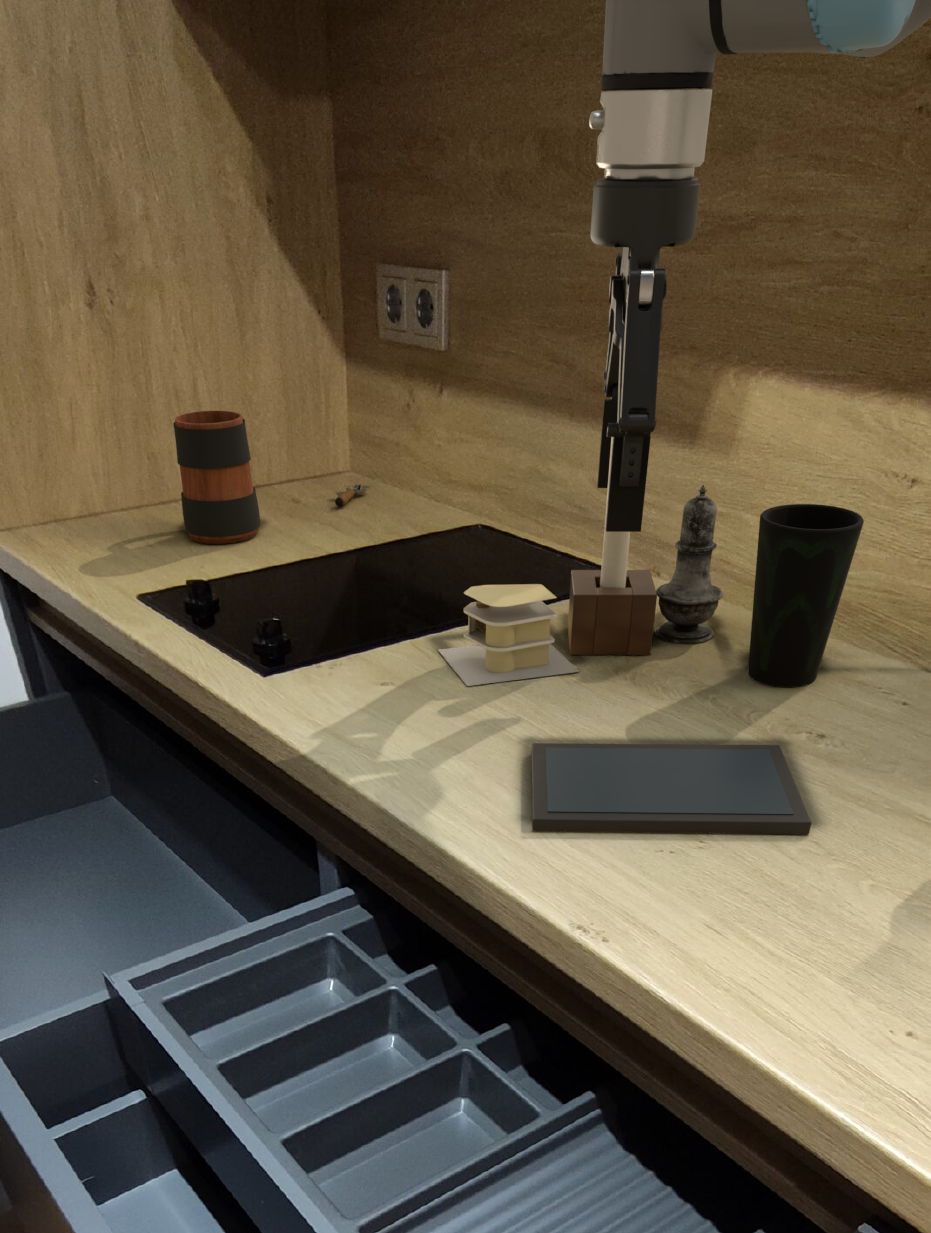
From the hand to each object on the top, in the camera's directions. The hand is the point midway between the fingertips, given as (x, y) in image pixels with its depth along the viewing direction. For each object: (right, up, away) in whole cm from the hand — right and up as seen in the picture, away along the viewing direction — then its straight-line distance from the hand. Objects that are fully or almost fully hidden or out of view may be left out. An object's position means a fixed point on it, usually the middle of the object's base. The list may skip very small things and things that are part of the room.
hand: (617, 508), depth 92 cm
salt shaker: (+7, -7, +8) cm, 13 cm away
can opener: (-26, +26, +46) cm, 59 cm away
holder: (0, -8, +7) cm, 11 cm away
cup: (+14, -14, 0) cm, 20 cm away
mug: (-40, +17, +36) cm, 57 cm away
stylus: (0, -8, +7) cm, 11 cm away
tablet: (0, -28, -15) cm, 32 cm away
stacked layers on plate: (-9, -11, +4) cm, 15 cm away
